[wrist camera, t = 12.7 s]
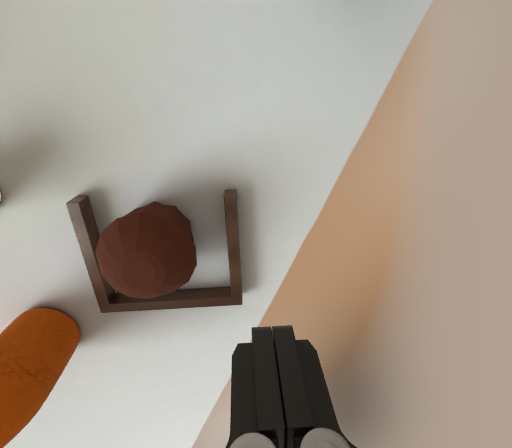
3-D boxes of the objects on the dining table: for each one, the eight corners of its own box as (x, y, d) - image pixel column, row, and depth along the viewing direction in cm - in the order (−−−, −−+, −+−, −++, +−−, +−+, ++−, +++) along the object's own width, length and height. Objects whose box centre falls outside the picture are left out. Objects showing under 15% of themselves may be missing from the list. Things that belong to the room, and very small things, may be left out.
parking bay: (75, 196, 38) (65, 203, 36) (236, 189, 39) (236, 195, 36) (107, 301, 45) (101, 313, 43) (242, 294, 46) (242, 304, 44)
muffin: (160, 175, 37) (136, 204, 28) (219, 234, 41) (215, 276, 32) (98, 230, 40) (58, 272, 31) (160, 280, 44) (140, 331, 35)
